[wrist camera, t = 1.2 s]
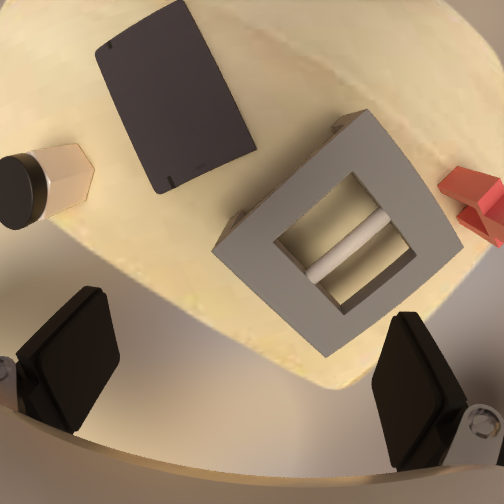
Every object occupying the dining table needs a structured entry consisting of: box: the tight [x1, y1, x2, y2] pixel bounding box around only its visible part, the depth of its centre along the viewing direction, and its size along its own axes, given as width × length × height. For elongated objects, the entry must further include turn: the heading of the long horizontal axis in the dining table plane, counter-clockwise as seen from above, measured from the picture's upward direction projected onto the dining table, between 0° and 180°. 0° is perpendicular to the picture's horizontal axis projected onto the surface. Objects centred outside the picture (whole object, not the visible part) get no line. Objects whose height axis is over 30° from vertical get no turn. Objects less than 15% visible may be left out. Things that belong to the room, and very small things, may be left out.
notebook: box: [95, 0, 257, 194], centre depth 32 cm, size 13×2×21 cm
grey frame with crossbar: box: [211, 109, 464, 358], centre depth 31 cm, size 18×16×10 cm
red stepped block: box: [437, 166, 504, 248], centre depth 27 cm, size 4×6×13 cm, turn 45°
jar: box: [0, 144, 94, 230], centre depth 31 cm, size 9×8×12 cm
